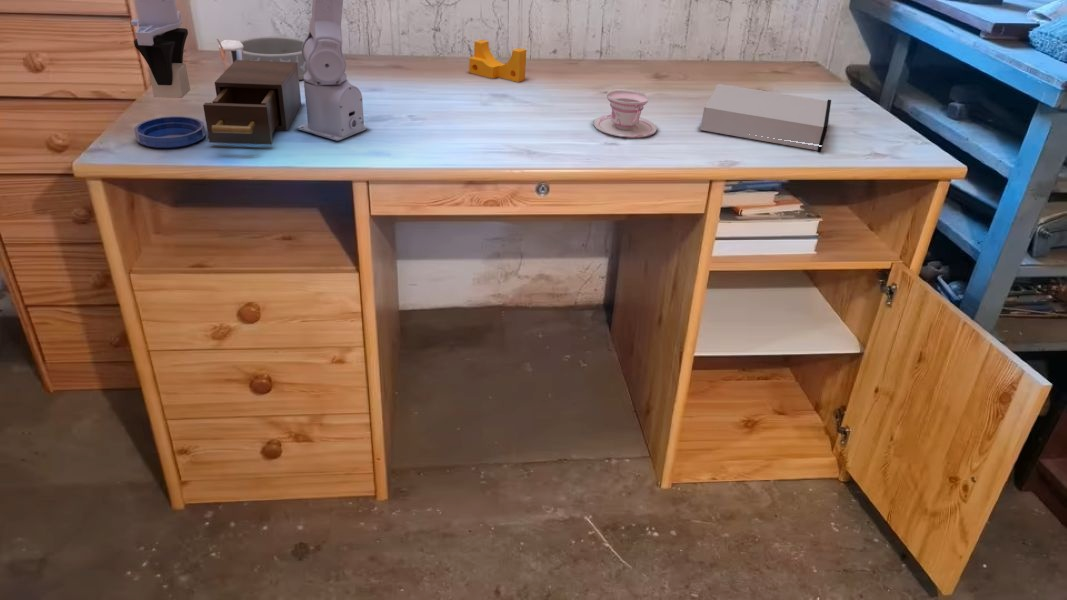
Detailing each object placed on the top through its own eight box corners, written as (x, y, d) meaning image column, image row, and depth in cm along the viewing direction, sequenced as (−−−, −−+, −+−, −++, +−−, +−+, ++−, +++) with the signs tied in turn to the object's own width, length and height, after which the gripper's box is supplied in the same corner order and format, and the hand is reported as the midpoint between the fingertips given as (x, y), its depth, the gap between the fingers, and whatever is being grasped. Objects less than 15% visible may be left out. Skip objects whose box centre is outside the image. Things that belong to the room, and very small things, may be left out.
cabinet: (286, 130, 137) (281, 84, 133) (221, 128, 136) (214, 82, 132) (301, 105, 149) (297, 62, 145) (241, 102, 148) (235, 59, 144)
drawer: (266, 152, 126) (261, 114, 122) (202, 151, 125) (195, 112, 121) (287, 118, 140) (283, 83, 136) (230, 116, 139) (224, 81, 136)
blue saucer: (219, 136, 133) (217, 125, 132) (166, 154, 125) (164, 142, 124) (176, 123, 137) (174, 112, 136) (122, 140, 129) (120, 128, 128)
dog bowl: (280, 54, 177) (278, 30, 175) (336, 71, 169) (334, 46, 166) (215, 68, 165) (211, 43, 162) (271, 88, 157) (268, 60, 154)
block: (190, 90, 129) (185, 63, 127) (182, 98, 126) (177, 70, 123) (162, 89, 129) (157, 62, 127) (153, 97, 125) (148, 69, 123)
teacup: (582, 120, 151) (585, 88, 148) (636, 115, 155) (640, 84, 152) (612, 141, 142) (616, 108, 139) (668, 135, 146) (673, 103, 143)
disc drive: (821, 152, 143) (828, 126, 141) (699, 131, 149) (704, 105, 147) (825, 124, 158) (832, 100, 155) (714, 106, 164) (718, 82, 161)
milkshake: (216, 89, 154) (208, 37, 149) (237, 82, 158) (229, 32, 153) (233, 93, 152) (226, 41, 147) (253, 87, 157) (247, 35, 151)
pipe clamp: (469, 72, 174) (469, 43, 171) (480, 68, 177) (481, 39, 174) (513, 83, 169) (515, 53, 165) (524, 79, 172) (526, 49, 169)
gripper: (142, -19, 125) (159, 66, 132) (107, -1, 112) (127, 92, 120) (188, -17, 125) (202, 68, 132) (157, 1, 113) (175, 94, 120)
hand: (170, 80), depth 126 cm, fingers closed on block, 4 cm apart
